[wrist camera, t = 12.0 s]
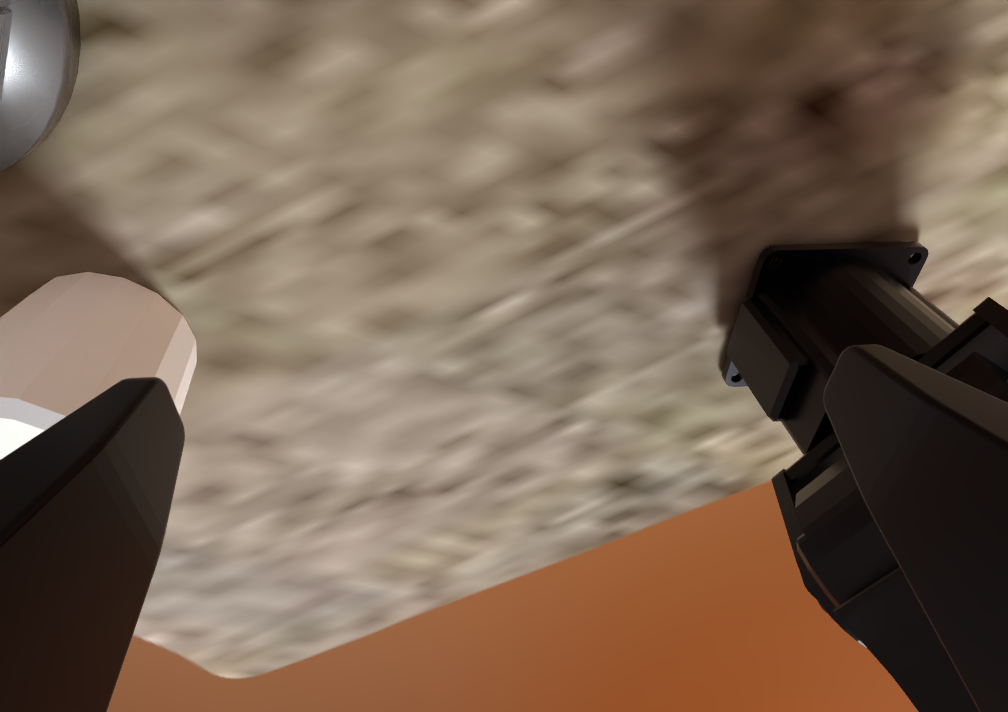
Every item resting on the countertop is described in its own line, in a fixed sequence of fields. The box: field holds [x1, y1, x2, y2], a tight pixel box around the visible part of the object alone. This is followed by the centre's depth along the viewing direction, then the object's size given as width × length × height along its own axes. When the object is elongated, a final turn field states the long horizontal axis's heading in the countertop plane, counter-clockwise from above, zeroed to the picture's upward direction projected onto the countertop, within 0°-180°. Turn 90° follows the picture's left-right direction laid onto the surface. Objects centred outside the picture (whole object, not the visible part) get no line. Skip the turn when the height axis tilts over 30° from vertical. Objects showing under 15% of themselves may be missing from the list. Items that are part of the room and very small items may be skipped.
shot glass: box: [0, 272, 197, 459], centre depth 19 cm, size 7×7×7 cm
